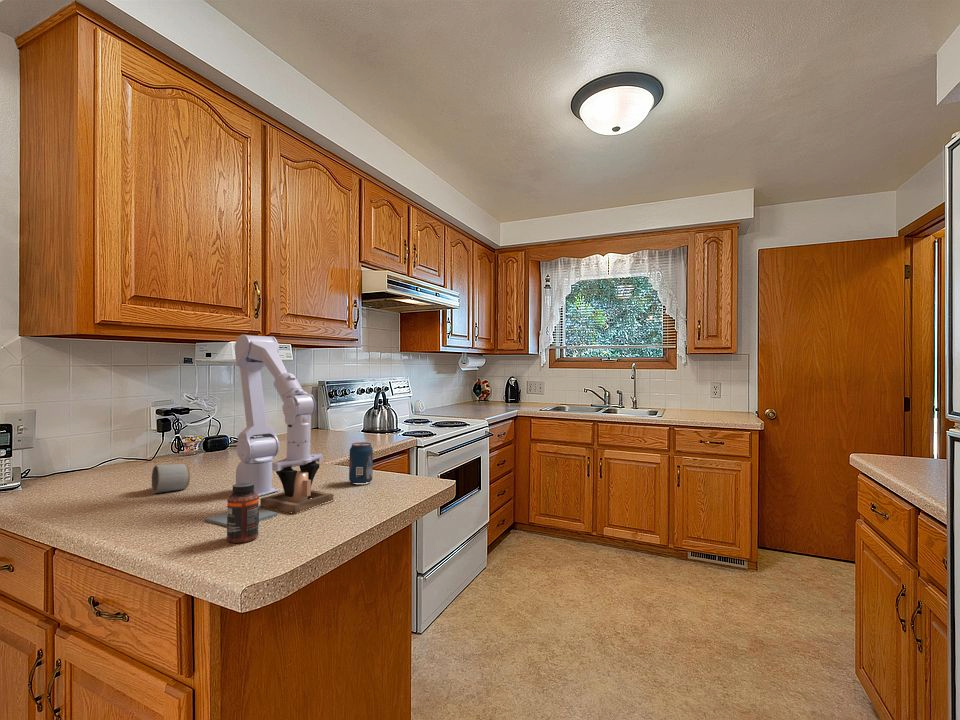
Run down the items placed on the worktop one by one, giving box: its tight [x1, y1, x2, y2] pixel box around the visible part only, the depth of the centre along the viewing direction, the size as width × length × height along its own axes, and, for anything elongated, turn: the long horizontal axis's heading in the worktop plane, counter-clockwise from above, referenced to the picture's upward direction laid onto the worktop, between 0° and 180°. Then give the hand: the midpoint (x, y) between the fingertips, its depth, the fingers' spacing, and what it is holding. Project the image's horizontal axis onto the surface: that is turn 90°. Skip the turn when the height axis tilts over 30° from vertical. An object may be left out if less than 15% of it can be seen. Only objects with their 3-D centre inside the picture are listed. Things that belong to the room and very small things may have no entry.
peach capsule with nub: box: [287, 470, 312, 503], centre depth 124 cm, size 6×5×8 cm
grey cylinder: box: [151, 463, 191, 494], centre depth 137 cm, size 11×8×8 cm
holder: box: [259, 489, 334, 514], centre depth 124 cm, size 12×12×2 cm
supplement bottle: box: [226, 482, 260, 544], centre depth 99 cm, size 6×6×11 cm
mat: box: [204, 508, 279, 528], centre depth 113 cm, size 11×11×1 cm
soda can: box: [348, 441, 374, 483], centre depth 147 cm, size 7×7×12 cm
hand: (297, 493), depth 124 cm, fingers closed on peach capsule with nub, 5 cm apart
